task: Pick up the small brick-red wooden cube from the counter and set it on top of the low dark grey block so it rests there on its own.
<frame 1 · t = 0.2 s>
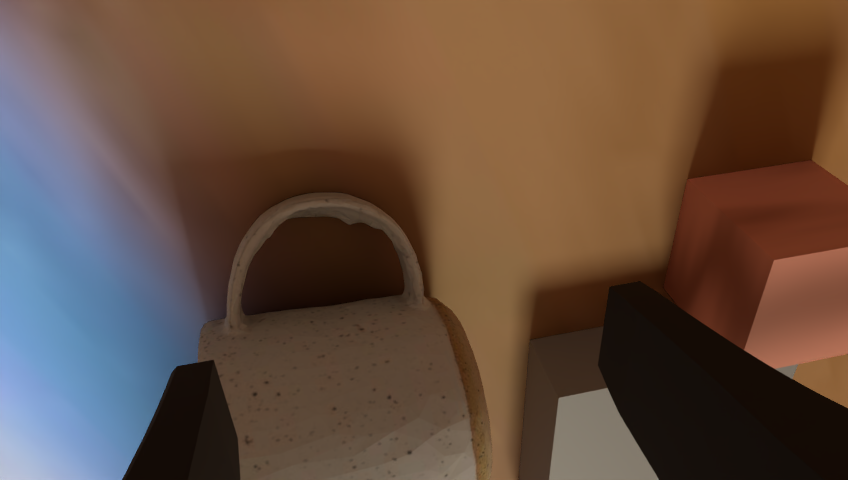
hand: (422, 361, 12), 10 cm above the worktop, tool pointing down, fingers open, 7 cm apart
ceramic mug: (318, 311, 24), on the worktop
red cube: (733, 225, 26), on the worktop
grey block: (624, 394, 31), on the worktop
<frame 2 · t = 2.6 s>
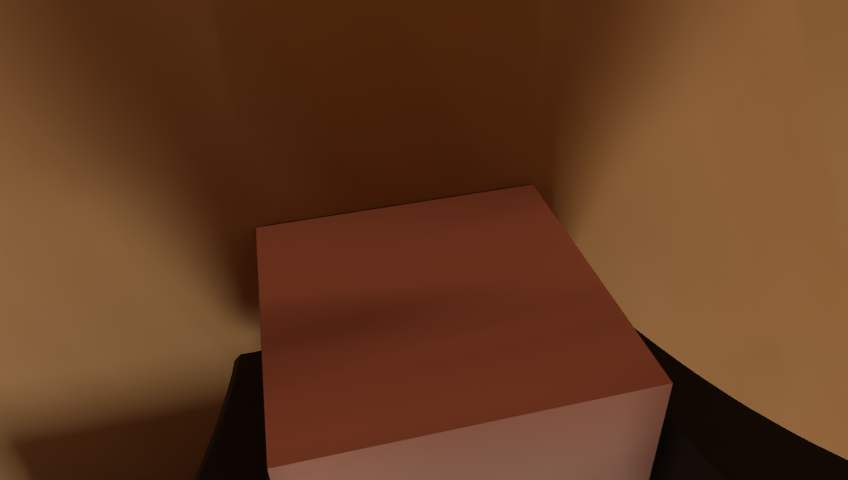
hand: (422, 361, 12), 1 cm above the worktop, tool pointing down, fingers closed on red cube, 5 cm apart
red cube: (406, 311, 14), on the worktop, touching gripper
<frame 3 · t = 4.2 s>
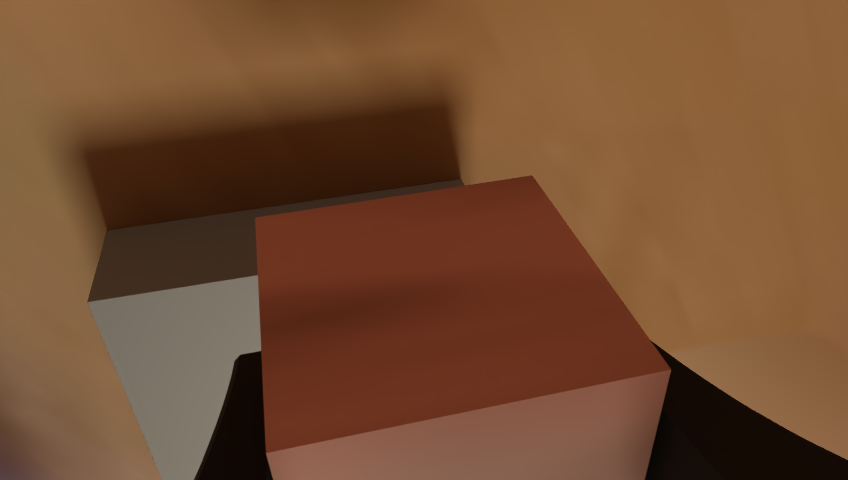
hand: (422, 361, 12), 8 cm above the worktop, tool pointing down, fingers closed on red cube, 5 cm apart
red cube: (405, 303, 14), point 7 cm above the worktop, touching gripper
grey block: (312, 324, 23), on the worktop
when the fingers open (6 cm above the worktop, at t = 5.9 s): red cube drops 2 cm, resting on grey block.
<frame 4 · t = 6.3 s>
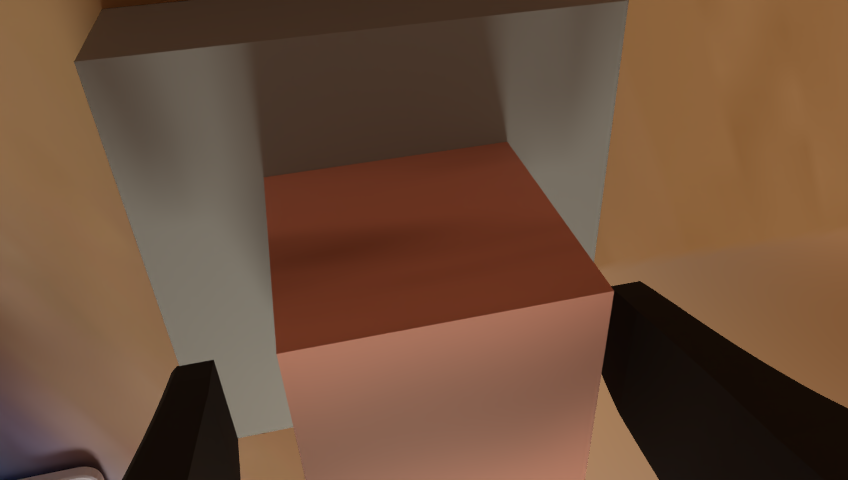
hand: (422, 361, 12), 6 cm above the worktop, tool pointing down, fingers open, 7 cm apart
red cube: (396, 257, 15), point 3 cm above the worktop, touching grey block
grey block: (364, 176, 18), on the worktop, touching red cube
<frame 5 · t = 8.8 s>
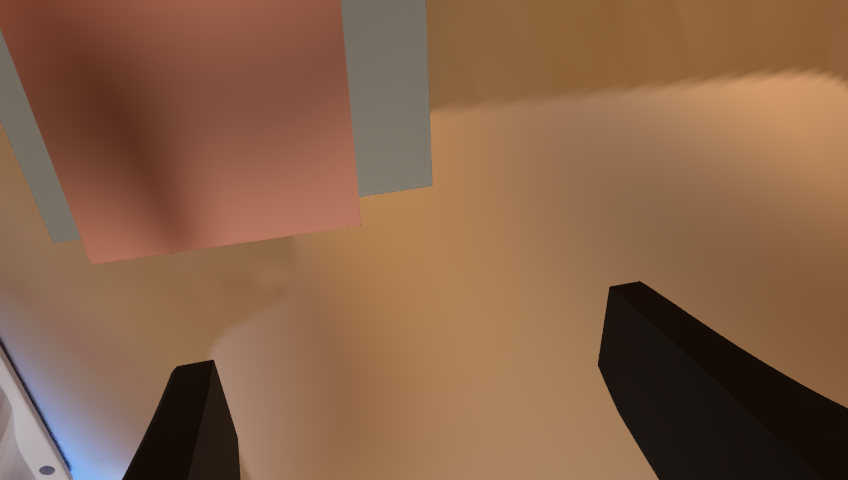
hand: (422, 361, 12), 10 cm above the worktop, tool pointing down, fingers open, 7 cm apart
red cube: (211, 29, 16), point 3 cm above the worktop, touching grey block
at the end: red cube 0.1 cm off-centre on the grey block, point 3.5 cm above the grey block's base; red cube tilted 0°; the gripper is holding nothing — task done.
